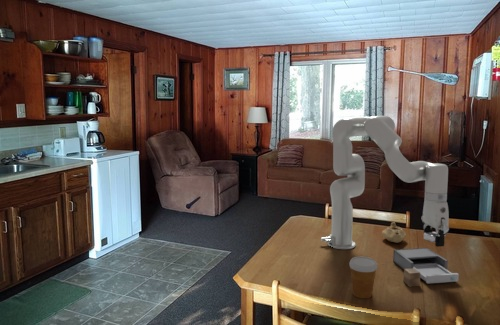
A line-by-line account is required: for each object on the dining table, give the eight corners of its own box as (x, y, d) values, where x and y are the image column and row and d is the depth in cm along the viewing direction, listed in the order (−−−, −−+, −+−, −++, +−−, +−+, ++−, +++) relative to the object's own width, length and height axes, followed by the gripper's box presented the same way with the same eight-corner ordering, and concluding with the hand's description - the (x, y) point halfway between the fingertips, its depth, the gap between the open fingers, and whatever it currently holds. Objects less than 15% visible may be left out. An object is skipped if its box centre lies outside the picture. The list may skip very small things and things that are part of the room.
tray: (428, 284, 144) (428, 276, 144) (408, 268, 158) (408, 261, 157) (459, 281, 146) (459, 274, 145) (436, 266, 159) (436, 259, 159)
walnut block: (409, 286, 144) (409, 273, 143) (403, 281, 148) (404, 268, 147) (419, 285, 144) (420, 272, 144) (413, 281, 148) (414, 268, 148)
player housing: (410, 275, 153) (411, 262, 153) (393, 261, 167) (393, 249, 166) (446, 272, 155) (447, 260, 154) (426, 259, 169) (427, 247, 168)
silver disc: (430, 242, 147) (430, 237, 146) (420, 236, 154) (420, 231, 153) (448, 241, 148) (448, 236, 147) (436, 235, 154) (437, 230, 154)
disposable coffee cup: (344, 288, 143) (345, 256, 141) (370, 287, 144) (371, 255, 142) (353, 301, 133) (354, 267, 132) (381, 299, 134) (382, 266, 133)
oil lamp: (389, 247, 184) (389, 230, 183) (378, 236, 199) (378, 221, 197) (412, 246, 184) (413, 230, 183) (400, 236, 199) (400, 220, 198)
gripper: (459, 201, 140) (457, 250, 143) (431, 191, 157) (429, 235, 160) (440, 202, 139) (437, 251, 142) (413, 192, 156) (412, 236, 159)
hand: (433, 242), depth 151 cm, fingers closed on silver disc, 7 cm apart
